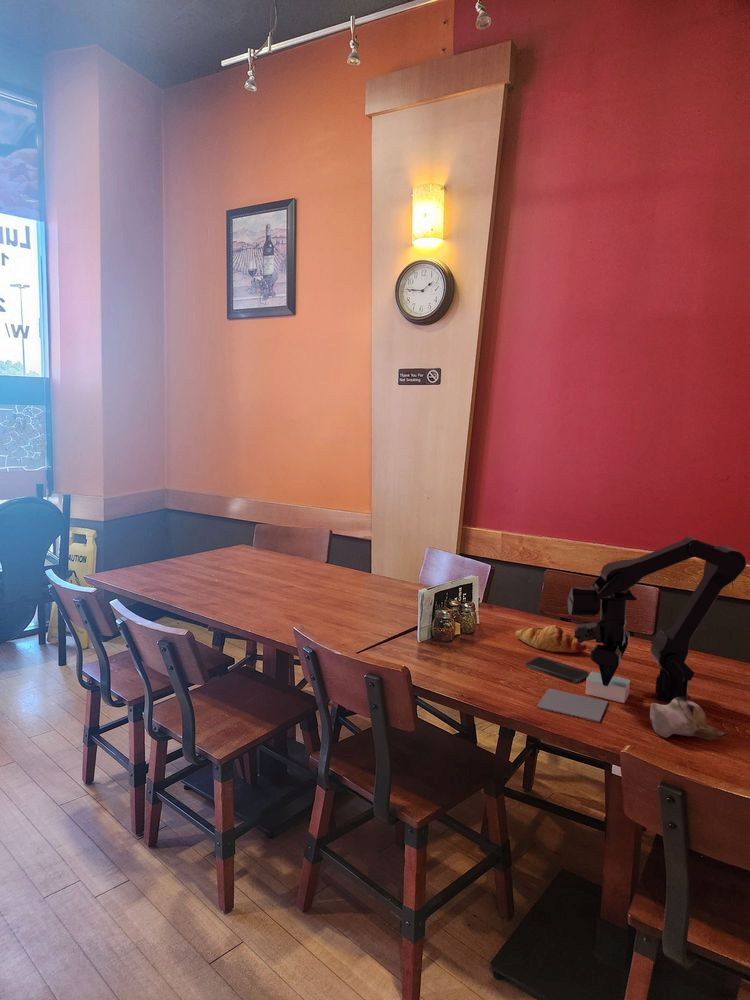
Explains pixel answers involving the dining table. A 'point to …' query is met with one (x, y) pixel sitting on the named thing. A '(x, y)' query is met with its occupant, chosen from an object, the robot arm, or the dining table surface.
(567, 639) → the croissant
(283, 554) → the dining table surface
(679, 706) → the ceramic sculpture
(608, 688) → the card box
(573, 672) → the phone
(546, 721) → the dining table surface
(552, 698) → the mat
